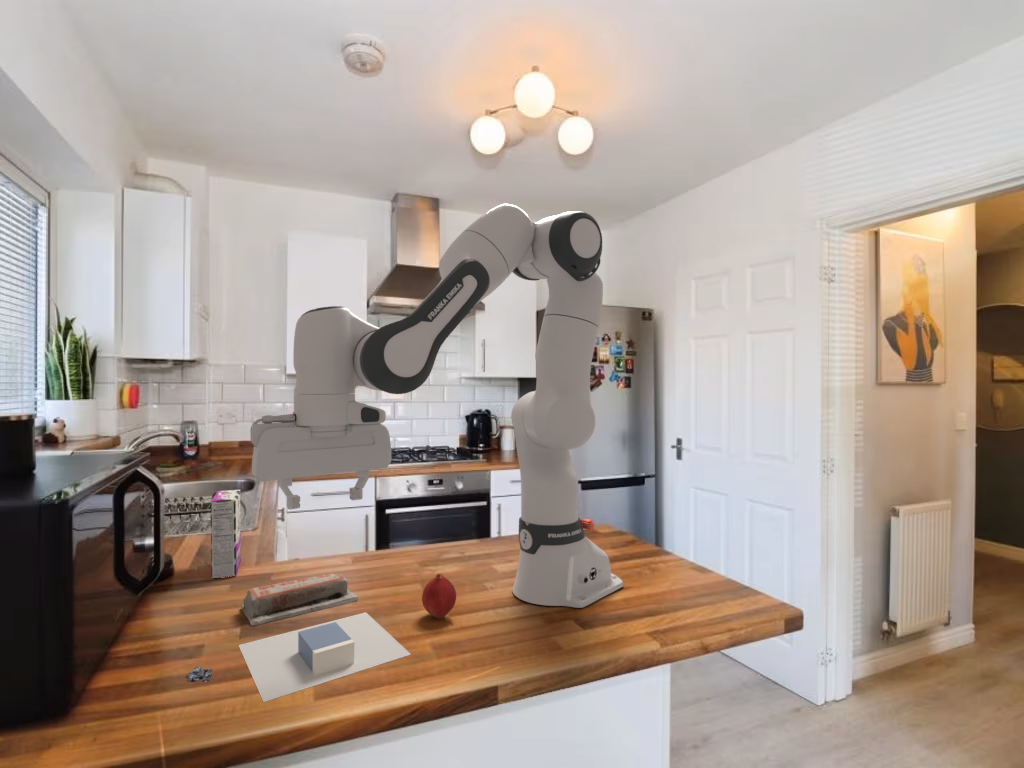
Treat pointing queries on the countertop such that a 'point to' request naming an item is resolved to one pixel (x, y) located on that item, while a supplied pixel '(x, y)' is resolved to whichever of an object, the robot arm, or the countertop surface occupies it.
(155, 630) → the countertop surface
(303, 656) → the card box
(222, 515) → the candy bar box
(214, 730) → the countertop surface
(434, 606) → the onion
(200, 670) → the blueberries
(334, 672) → the rubber mat
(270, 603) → the packaged product
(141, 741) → the countertop surface
